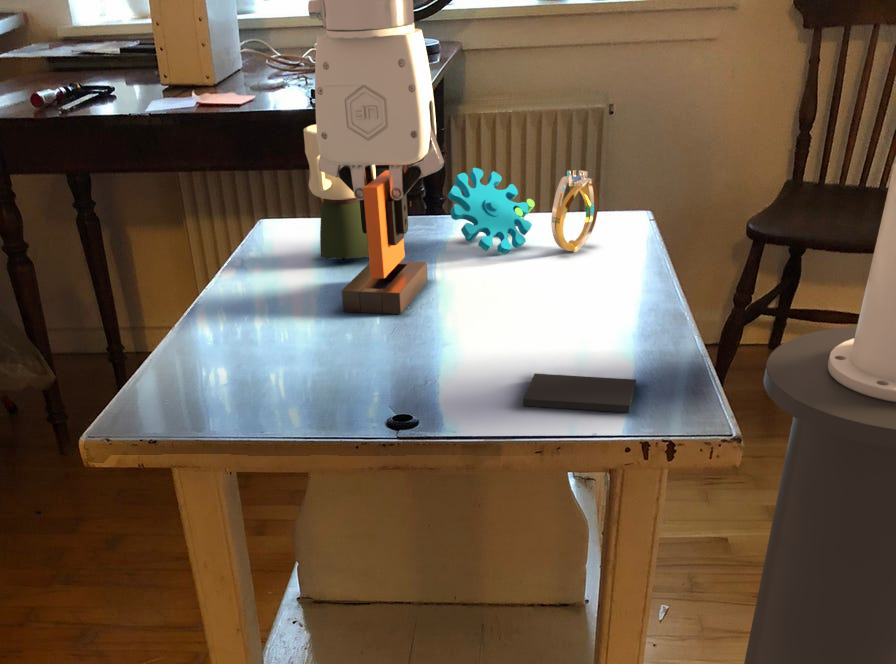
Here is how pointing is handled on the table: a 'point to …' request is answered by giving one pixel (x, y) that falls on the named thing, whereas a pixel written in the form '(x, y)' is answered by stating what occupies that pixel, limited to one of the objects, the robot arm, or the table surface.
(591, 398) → the mat
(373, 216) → the orange rectangular board
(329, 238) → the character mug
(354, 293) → the frame
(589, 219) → the ring
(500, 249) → the gear
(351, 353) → the table surface
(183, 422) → the table surface
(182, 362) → the table surface
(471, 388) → the table surface
